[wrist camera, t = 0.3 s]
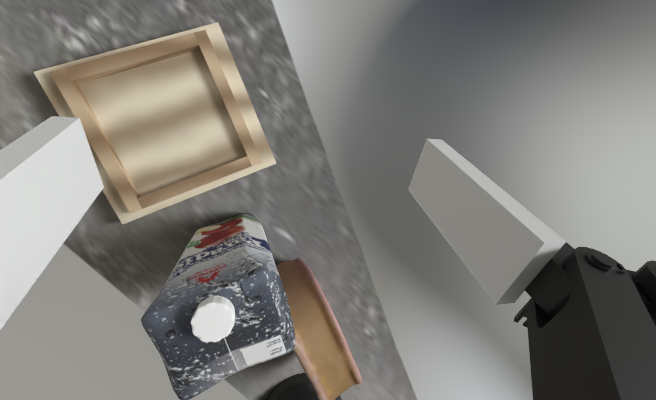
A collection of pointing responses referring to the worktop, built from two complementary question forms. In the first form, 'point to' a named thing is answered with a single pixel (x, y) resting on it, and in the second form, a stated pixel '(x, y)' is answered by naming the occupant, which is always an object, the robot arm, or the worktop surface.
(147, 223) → the worktop surface
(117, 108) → the square wooden tray
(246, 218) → the juice carton
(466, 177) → the robot arm
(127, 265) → the worktop surface
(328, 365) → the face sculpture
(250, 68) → the worktop surface
